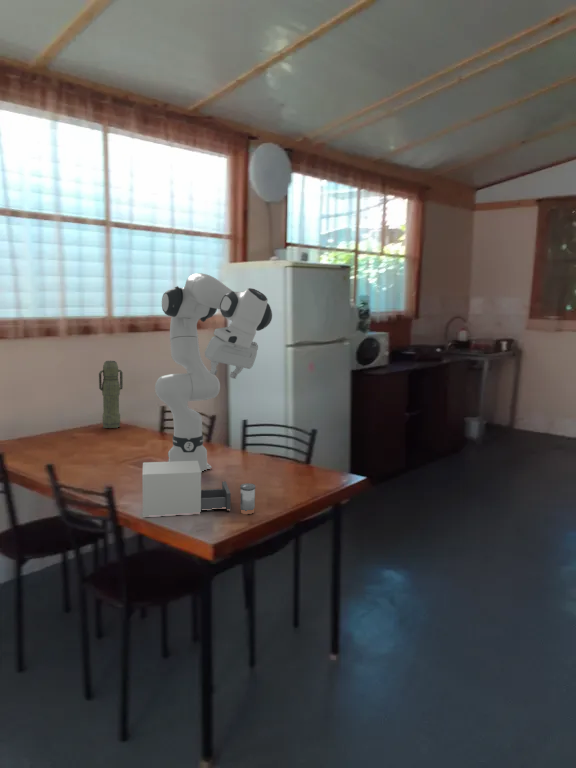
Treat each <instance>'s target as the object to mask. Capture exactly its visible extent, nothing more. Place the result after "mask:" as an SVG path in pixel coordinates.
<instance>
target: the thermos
mask: <svg viewBox="0 0 576 768" xmlns="http://www.w3.org/2000/svg"><path fill="white" fill-rule="evenodd" d="M123 374H124V373H123V371H122V370H121V369H119V366H118V362H117V361H116V360H106V361H104V363H103V366H102V370H100V371H99V373H98V389H99V390H100V391H101V394H102V396H103V398H102V400H103V401H102V402H103V403H102V405H103V406H102V407H103V408H102V409H103V413H102V428H103V429H104V428H117V429H119V428H118V427H120V428H121V424H120V423H121V414H120V395H121V394H120V393H121V390H123V388H124V387H123V386H124V383H123V379H124V378H123V377H124V375H123ZM102 377H103V380H102Z"/></svg>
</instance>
